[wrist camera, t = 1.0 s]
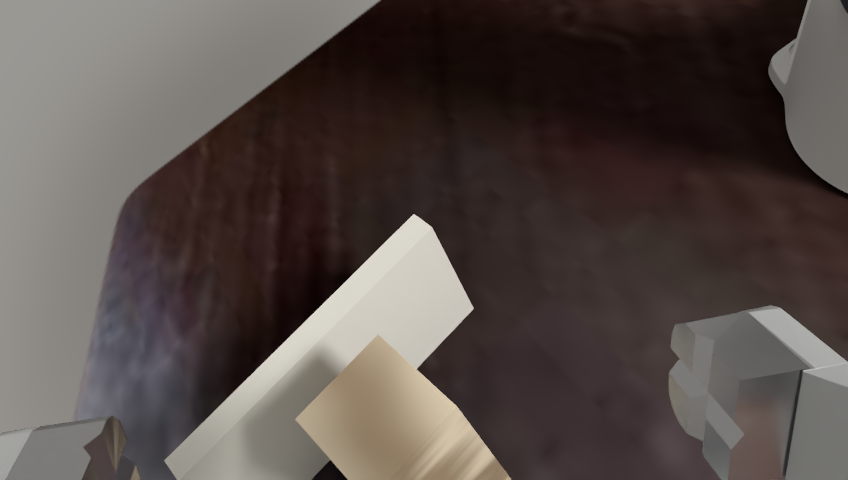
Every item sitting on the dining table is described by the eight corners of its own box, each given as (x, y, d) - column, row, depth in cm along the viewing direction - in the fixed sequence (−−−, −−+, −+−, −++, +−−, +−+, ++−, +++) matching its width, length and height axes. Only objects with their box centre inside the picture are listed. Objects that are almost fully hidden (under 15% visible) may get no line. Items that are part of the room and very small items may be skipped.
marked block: (452, 426, 42) (373, 330, 31) (517, 488, 39) (456, 406, 28) (394, 490, 41) (290, 414, 30) (456, 558, 38) (368, 502, 27)
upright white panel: (457, 296, 47) (413, 213, 39) (473, 308, 46) (432, 227, 38) (258, 503, 43) (164, 460, 35) (271, 521, 42) (178, 481, 34)
